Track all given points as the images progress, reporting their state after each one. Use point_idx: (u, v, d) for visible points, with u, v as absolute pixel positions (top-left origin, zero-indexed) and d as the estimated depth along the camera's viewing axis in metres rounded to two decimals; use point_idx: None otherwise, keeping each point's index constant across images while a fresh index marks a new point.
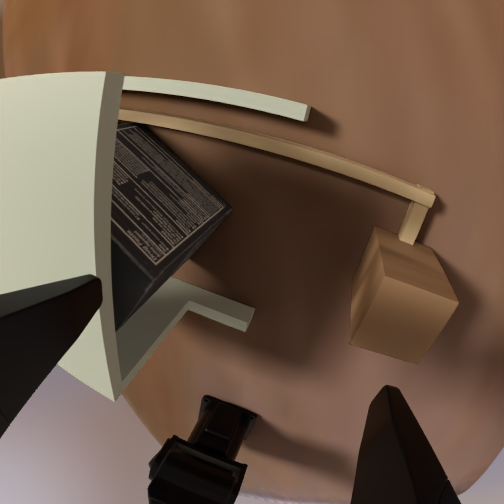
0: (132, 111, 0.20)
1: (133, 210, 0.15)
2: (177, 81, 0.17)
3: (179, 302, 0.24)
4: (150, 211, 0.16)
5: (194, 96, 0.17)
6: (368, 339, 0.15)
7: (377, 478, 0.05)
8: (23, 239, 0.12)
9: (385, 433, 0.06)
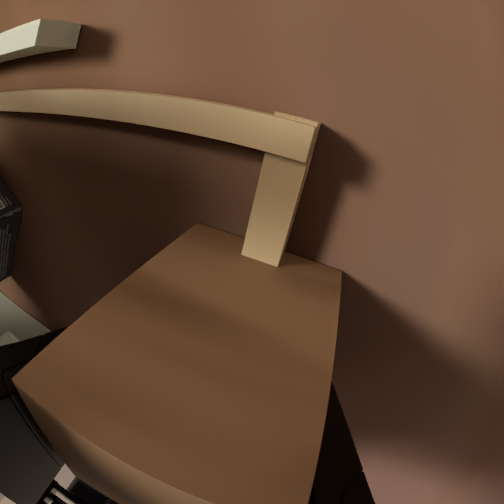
0: None
1: None
2: None
3: None
4: None
5: None
6: (96, 486, 0.05)
7: None
8: None
9: None
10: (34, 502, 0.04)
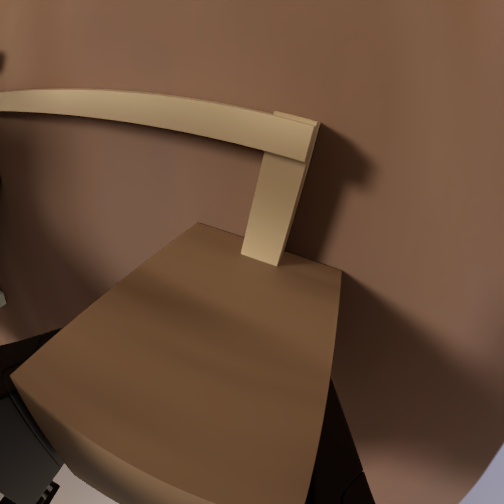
0: None
1: None
2: None
3: None
4: None
5: None
6: (94, 484, 0.05)
7: None
8: None
9: None
10: (34, 502, 0.04)
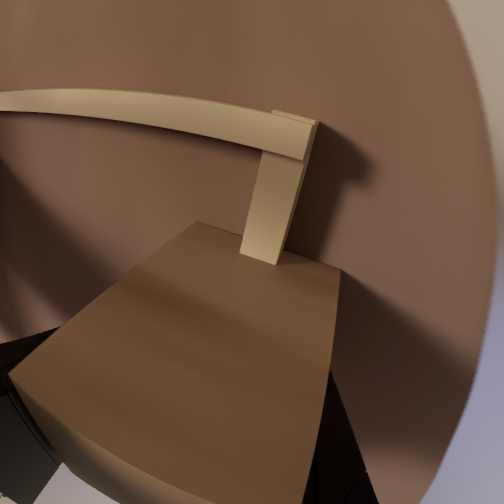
0: None
1: None
2: None
3: None
4: None
5: None
6: (92, 483, 0.05)
7: None
8: None
9: None
10: (32, 500, 0.04)
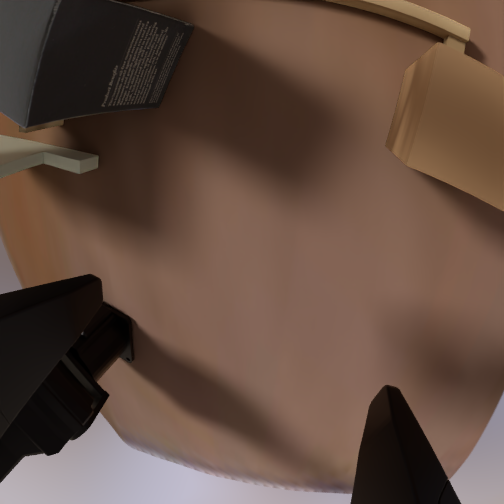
0: None
1: None
2: None
3: (33, 152, 0.19)
4: None
5: None
6: (435, 155, 0.08)
7: (377, 478, 0.05)
8: None
9: (385, 433, 0.06)
10: None
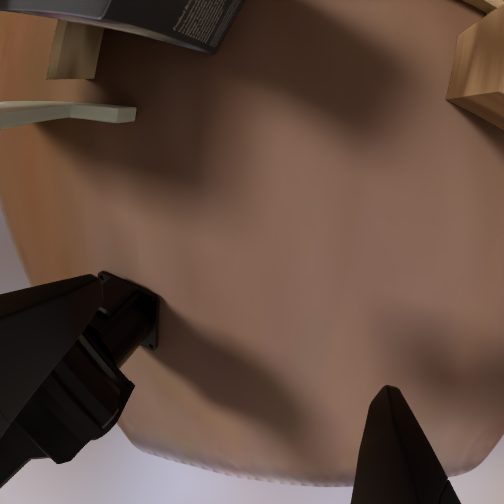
0: None
1: None
2: None
3: (59, 104, 0.17)
4: None
5: None
6: None
7: (377, 478, 0.05)
8: None
9: (385, 433, 0.06)
10: None
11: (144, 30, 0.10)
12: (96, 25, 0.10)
